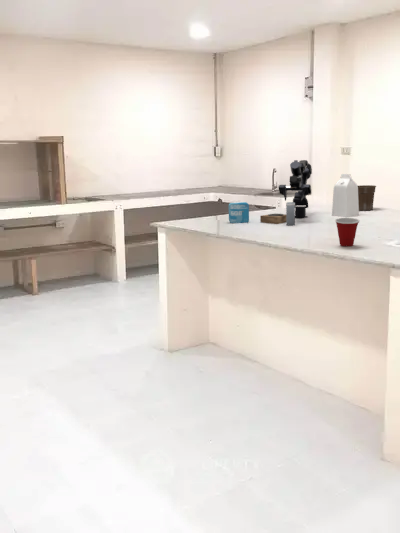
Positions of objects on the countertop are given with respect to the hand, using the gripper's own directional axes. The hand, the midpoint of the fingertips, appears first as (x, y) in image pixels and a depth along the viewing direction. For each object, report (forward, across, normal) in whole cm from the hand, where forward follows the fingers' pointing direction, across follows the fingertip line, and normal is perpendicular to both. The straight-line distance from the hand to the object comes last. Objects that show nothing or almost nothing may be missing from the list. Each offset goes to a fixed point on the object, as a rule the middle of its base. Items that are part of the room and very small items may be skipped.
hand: (293, 200), depth 333 cm
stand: (+7, -11, +12) cm, 18 cm away
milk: (-16, +26, +35) cm, 46 cm away
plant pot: (-37, +35, +56) cm, 76 cm away
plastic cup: (+59, +38, -39) cm, 80 cm away
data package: (+9, -33, +10) cm, 36 cm away
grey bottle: (+15, 0, +4) cm, 16 cm away
